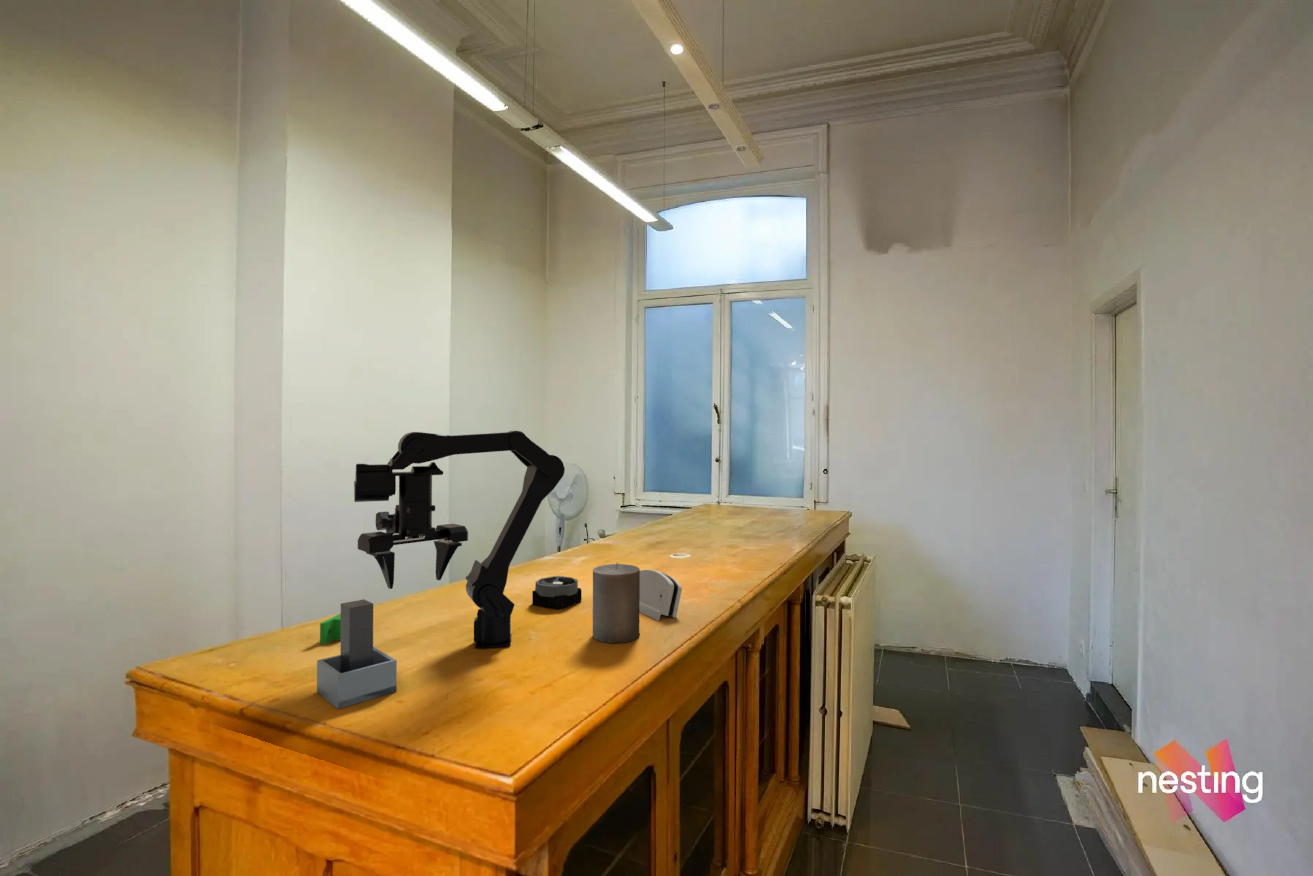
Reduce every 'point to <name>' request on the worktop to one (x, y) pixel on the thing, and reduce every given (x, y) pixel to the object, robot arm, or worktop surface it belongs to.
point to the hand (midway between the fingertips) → (415, 584)
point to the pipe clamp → (330, 629)
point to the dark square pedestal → (356, 635)
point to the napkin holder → (658, 594)
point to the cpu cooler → (556, 592)
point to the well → (356, 680)
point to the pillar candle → (616, 603)
